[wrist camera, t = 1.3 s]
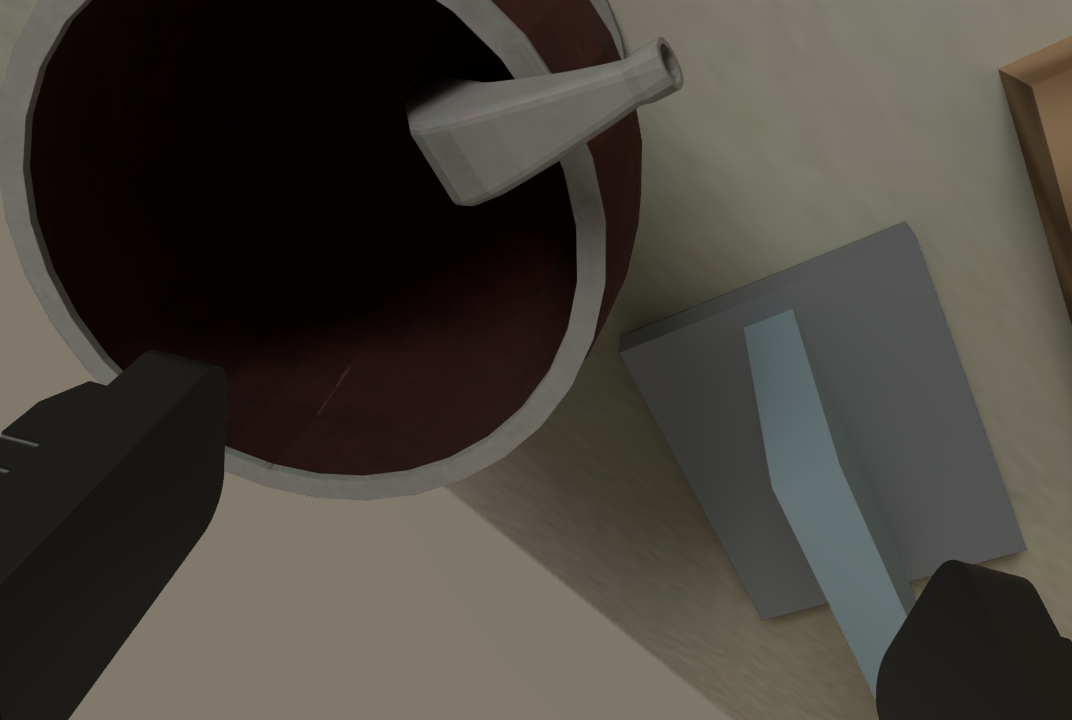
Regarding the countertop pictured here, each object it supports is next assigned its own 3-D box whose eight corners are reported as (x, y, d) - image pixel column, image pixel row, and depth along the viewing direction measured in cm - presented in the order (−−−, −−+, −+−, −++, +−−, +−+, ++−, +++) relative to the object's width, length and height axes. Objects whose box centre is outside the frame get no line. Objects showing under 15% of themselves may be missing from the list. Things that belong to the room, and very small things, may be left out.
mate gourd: (419, 309, 37) (201, 673, 20) (218, 13, 32) (-306, 151, 15) (753, 141, 32) (855, 436, 14) (573, -244, 27) (403, -497, 10)
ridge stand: (905, 221, 33) (1017, 375, 22) (1014, 527, 38) (1144, 763, 28) (620, 336, 36) (602, 513, 26) (759, 598, 42) (789, 828, 32)
